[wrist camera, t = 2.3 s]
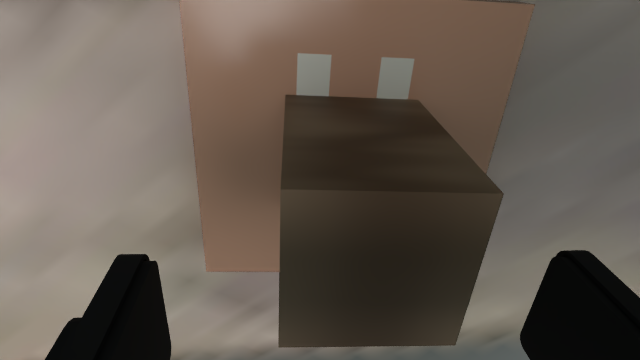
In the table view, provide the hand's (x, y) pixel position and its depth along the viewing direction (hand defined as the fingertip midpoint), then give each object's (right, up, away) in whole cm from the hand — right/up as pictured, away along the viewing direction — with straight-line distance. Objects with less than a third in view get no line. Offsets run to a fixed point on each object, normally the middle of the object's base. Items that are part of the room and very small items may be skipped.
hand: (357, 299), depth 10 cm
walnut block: (0, +4, +7) cm, 8 cm away
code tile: (0, +4, +7) cm, 9 cm away
